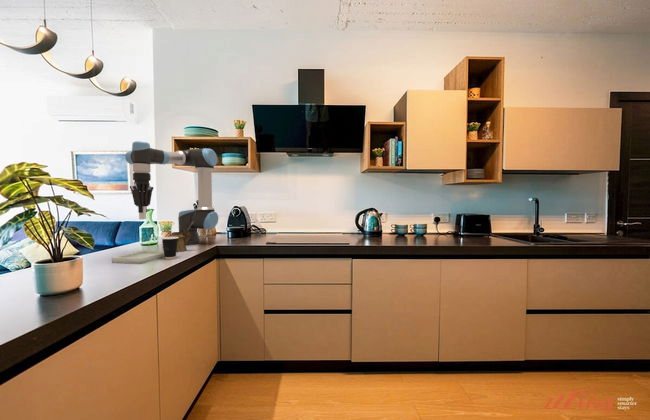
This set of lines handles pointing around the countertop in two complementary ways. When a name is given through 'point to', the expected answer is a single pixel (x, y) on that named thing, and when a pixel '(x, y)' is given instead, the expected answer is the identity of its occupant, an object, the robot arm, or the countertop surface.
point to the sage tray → (139, 257)
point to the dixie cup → (170, 247)
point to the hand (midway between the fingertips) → (142, 219)
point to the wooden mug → (182, 239)
